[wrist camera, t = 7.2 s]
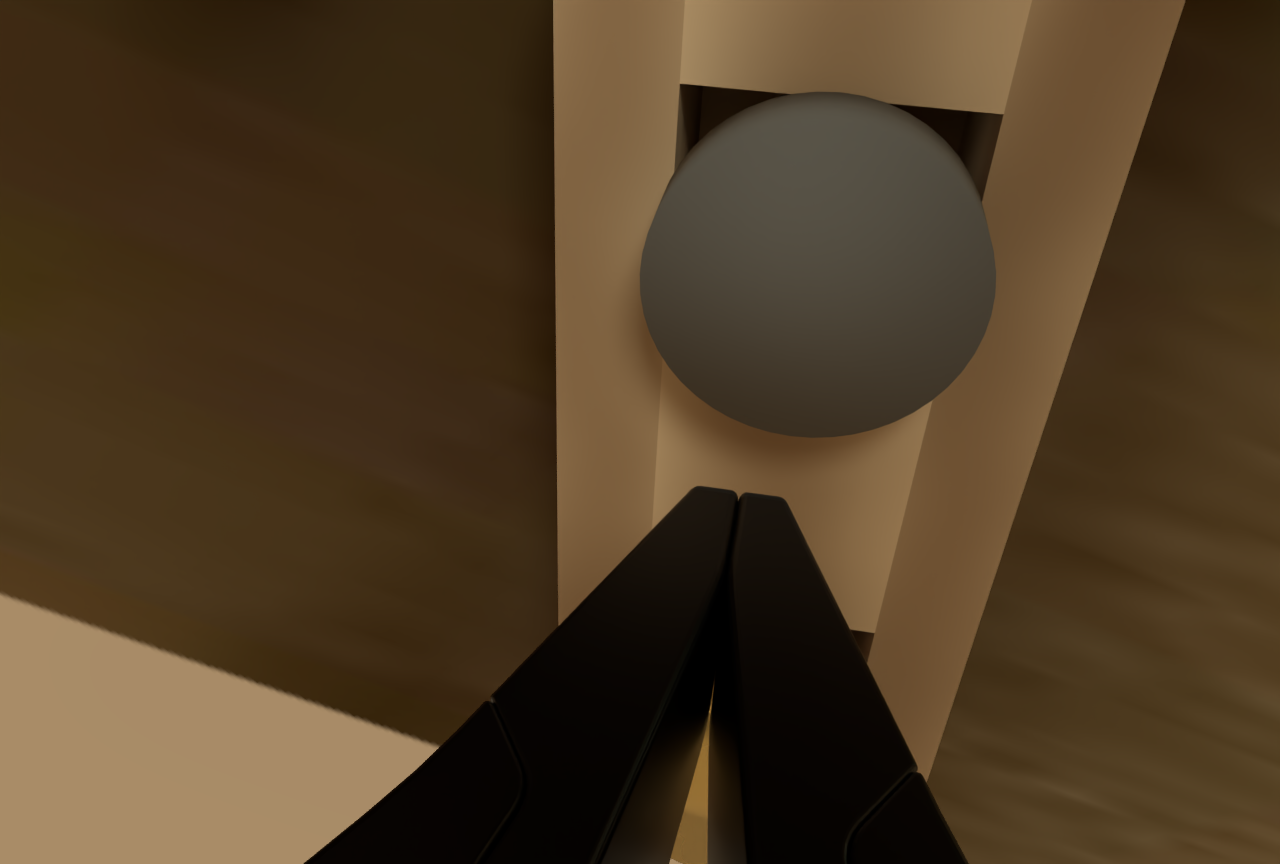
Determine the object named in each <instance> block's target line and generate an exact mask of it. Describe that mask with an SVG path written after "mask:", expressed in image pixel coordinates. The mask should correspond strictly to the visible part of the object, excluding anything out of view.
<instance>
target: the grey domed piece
mask: <svg viewBox="0 0 1280 864" xmlns="http://www.w3.org/2000/svg"><path fill="white" fill-rule="evenodd" d="M995 292H996V267H995V258H994V250H993V246H992V242H991V238H990V233H989V229H988V225H987V221H986V216H985V212H984V209H983V205H982V201H981V198H980V194H979V192H978V190H977V187H976V185H975V183H974V181H973V178H972V176H971V174H970V173H969V171H968V169H967V168H966V166H965V165H964V163H963V162H962V160H961V158H960V157H959V156H958V154H957V153H956V152H955V151H954V150H953V149H952V148H951V146H950V145H949V144H948V143H947V142H946V141H945V140H944V139H943V138H942V137H941V136H940V135H939V134H937V133H936V132H935V131H934V130H933V129H932V128H930V127H929V126H928V125H927V124H925V123H924V122H922V121H920V120H919V119H917V118H916V117H914V116H913V115H911V114H909V113H908V112H906V111H903V110H901V109H899V108H897V107H895V106H893V105H890V104H888V103H886V102H882V101H879V100H876V99H872V98H869V97H866V96H861V95H855V94H849V93H842V92H807V93H797V94H783V95H781V96H779V97H777V98H773V99H769V100H767V101H764V102H761V103H759V104H756V105H753V106H751V107H748V108H746V109H744V110H742V111H740V112H739V113H737V114H735V115H733V116H731V117H729V118H727V119H726V120H725V121H723V122H722V123H720V124H719V125H718V126H716V127H715V128H713V129H712V130H711V131H709V132H708V133H707V134H706V135H705V136H704V137H703V138H702V139H701V140H700V141H699V142H698V143H697V144H696V145H694V146H693V148H692V149H691V150H690V151H689V153H688V154H687V155H686V156H685V158H684V159H683V160H682V161H681V162H680V164H679V166H678V167H677V169H676V171H675V172H674V174H673V176H672V177H671V179H670V180H669V183H668V185H667V187H666V190H665V192H664V194H663V197H662V199H661V201H660V204H659V206H658V209H657V211H656V214H655V216H654V219H653V221H652V224H651V226H650V229H649V231H648V234H647V237H646V241H645V245H644V249H643V252H642V259H641V267H640V296H641V302H642V308H643V314H644V317H645V320H646V323H647V326H648V330H649V333H650V335H651V337H652V339H653V341H654V343H655V345H656V347H657V350H658V351H659V353H660V355H661V356H662V358H663V359H664V361H665V362H666V364H667V365H668V367H669V368H670V369H671V371H672V372H673V373H674V374H675V375H676V376H677V378H678V379H679V380H680V381H681V382H682V383H683V384H684V385H685V386H686V387H687V388H688V389H689V390H690V391H691V392H692V393H694V394H695V395H696V396H697V397H698V398H700V399H701V400H702V401H704V402H705V403H706V404H708V405H709V406H711V407H712V408H714V409H715V410H717V411H719V412H721V413H722V414H724V415H726V416H728V417H729V418H731V419H734V420H736V421H739V422H741V423H743V424H746V425H748V426H751V427H754V428H757V429H760V430H764V431H767V432H771V433H776V434H782V435H787V436H795V437H807V438H823V437H838V436H846V435H853V434H858V433H862V432H866V431H870V430H874V429H877V428H880V427H882V426H885V425H888V424H891V423H893V422H896V421H898V420H900V419H902V418H904V417H906V416H908V415H910V414H912V413H914V412H915V411H917V410H918V409H920V408H921V407H923V406H925V405H926V404H928V403H929V402H931V401H932V400H933V399H934V398H936V397H937V396H938V395H939V394H940V393H942V392H943V391H944V390H945V389H946V388H948V387H949V385H950V384H951V383H952V382H953V381H954V380H955V379H956V378H957V377H958V376H959V375H960V374H961V373H962V371H963V370H964V369H965V367H966V366H967V364H968V363H969V362H970V360H971V359H972V357H973V356H974V354H975V353H976V351H977V349H978V347H979V345H980V343H981V341H982V339H983V337H984V335H985V332H986V329H987V327H988V324H989V321H990V318H991V315H992V310H993V305H994V299H995Z"/></svg>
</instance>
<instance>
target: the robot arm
mask: <svg viewBox="0 0 1280 864" xmlns="http://www.w3.org/2000/svg"><path fill="white" fill-rule="evenodd" d="M713 687H714V689H713ZM712 694H713V698H712ZM711 701H712V707H711ZM710 707H711V716H710V726H709V751H708V844H707V864H969V863H968V861H967V860H966V858H965V856H964V854H963V852H962V850H961V848H960V847H959V845H958V843H957V841H956V839H955V837H954V835H953V834H952V832H951V830H950V828H949V826H948V824H947V822H946V821H945V819H944V817H943V815H942V813H941V811H940V809H939V807H938V805H937V803H936V801H935V799H934V797H933V795H932V793H931V791H930V789H929V787H928V785H927V783H926V781H925V779H924V777H923V775H922V774H921V773H918V772H917V771H918V766H917V763H916V761H915V759H914V757H913V755H912V753H911V751H910V749H909V747H908V745H907V743H906V741H905V739H904V737H903V735H902V733H901V731H900V729H899V727H898V725H897V723H896V721H895V719H894V717H893V715H892V713H891V711H890V709H889V707H888V705H887V703H886V701H885V699H884V697H883V695H882V693H881V691H880V689H879V687H878V685H877V683H876V681H875V679H874V677H873V675H872V673H871V671H870V669H869V667H868V665H867V662H866V660H865V658H864V656H863V654H862V652H861V650H860V648H859V646H858V644H857V642H856V640H855V638H854V636H853V634H852V632H851V630H850V628H849V626H848V624H847V622H846V620H845V618H844V616H843V614H842V612H841V610H840V608H839V606H838V604H837V602H836V600H835V598H834V596H833V594H832V592H831V590H830V588H829V586H828V584H827V582H826V580H825V578H824V576H823V574H822V572H821V570H820V568H819V566H818V564H817V562H816V559H815V557H814V555H813V553H812V551H811V549H810V547H809V545H808V543H807V541H806V539H805V537H804V535H803V533H802V531H801V529H800V527H799V525H798V523H797V521H796V519H795V517H794V515H793V513H792V511H791V509H790V507H789V505H788V503H787V502H786V500H785V499H783V498H782V497H779V496H772V495H764V494H757V493H750V492H745V493H743V494H742V495H741V496H740V497H739V501H738V495H737V493H736V492H735V491H733V490H728V489H721V488H713V487H706V486H696V487H694V488H692V489H691V490H690V491H689V492H688V493H687V494H686V495H685V496H684V497H683V498H682V499H681V500H680V501H679V502H678V503H677V504H676V505H675V506H674V507H673V508H672V509H671V510H670V511H669V512H668V514H667V515H666V516H665V517H664V518H663V519H662V520H661V521H660V522H659V523H658V524H657V525H656V526H655V527H654V528H653V529H652V530H651V531H650V532H649V533H648V534H647V535H646V536H645V537H644V538H643V539H642V540H641V541H640V542H639V543H638V544H637V546H636V547H635V548H634V549H633V550H632V551H631V552H630V553H629V554H628V555H627V556H626V557H625V558H624V559H623V560H622V561H621V562H620V563H619V564H618V565H617V566H616V567H615V568H614V569H613V570H612V571H611V572H610V573H609V574H608V575H607V577H606V578H605V579H604V580H603V581H602V582H601V583H600V584H599V585H598V586H597V587H596V588H595V589H594V590H593V591H592V592H591V593H590V594H589V595H588V596H587V597H586V598H585V599H584V600H583V601H582V602H581V603H580V604H579V605H578V606H577V607H576V609H575V610H574V611H573V612H572V613H571V614H570V615H569V616H568V617H567V618H566V619H565V620H564V621H563V622H562V623H561V624H560V625H559V626H558V627H557V628H556V629H555V630H554V631H553V632H552V633H551V634H550V635H549V636H548V637H547V638H546V639H545V641H544V642H543V643H542V644H541V645H540V646H539V647H538V648H537V649H536V650H535V651H534V652H533V653H532V654H531V655H530V656H529V657H528V658H527V659H526V660H525V661H524V662H523V663H522V664H521V665H520V666H519V667H518V668H517V669H516V670H515V671H514V673H513V674H512V675H511V676H510V677H509V678H508V679H507V680H506V681H505V682H504V683H503V684H502V685H501V686H500V687H499V688H498V689H497V690H496V691H495V692H494V693H493V694H492V696H491V701H485V702H484V703H483V704H482V705H481V706H480V707H479V708H478V709H477V710H476V711H475V712H474V713H473V714H472V715H471V716H470V717H469V718H468V720H467V721H466V722H465V723H464V724H463V725H462V726H461V727H460V728H459V729H458V730H457V731H456V732H455V733H454V734H453V735H452V736H451V737H450V738H449V739H448V740H447V741H446V742H444V743H443V744H442V745H441V746H440V747H439V748H438V749H437V750H436V751H435V752H434V753H433V754H432V755H431V756H430V757H429V758H428V759H427V760H426V761H425V762H424V763H423V764H422V765H421V766H420V767H419V768H418V769H417V770H415V771H414V772H413V773H412V774H411V775H410V776H408V777H407V778H406V779H405V780H404V781H403V782H401V783H400V784H399V785H398V786H397V787H396V788H394V789H393V790H392V791H391V792H390V793H389V794H387V795H386V796H385V797H384V798H383V799H382V800H380V801H379V802H378V803H377V804H376V805H374V806H373V807H372V808H371V809H370V810H369V811H368V812H366V813H365V814H364V815H363V816H361V817H360V818H359V819H358V820H357V821H355V822H354V823H353V824H352V825H350V826H349V827H348V828H347V829H346V830H344V831H343V832H342V833H341V834H339V835H338V836H337V837H336V838H334V839H333V840H332V841H331V842H329V844H327V845H326V846H325V847H323V848H322V849H321V850H320V851H318V852H317V853H316V854H315V855H314V856H312V857H311V858H310V859H309V860H307V861H306V862H305V863H304V864H669V862H670V858H671V855H672V851H673V847H674V844H675V840H676V837H677V833H678V830H679V826H680V823H681V819H682V815H683V812H684V808H685V805H686V801H687V798H688V794H689V791H690V787H691V783H692V780H693V776H694V773H695V769H696V766H697V762H698V758H699V755H700V751H701V748H702V744H703V740H704V736H705V732H706V728H707V723H708V718H709V712H710Z"/></svg>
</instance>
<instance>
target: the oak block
mask: <svg viewBox="0 0 1280 864" xmlns="http://www.w3.org/2000/svg"><path fill="white" fill-rule="evenodd" d="M1184 3H1185V0H553V32H554V154H555V276H556V397H557V519H558V626H559V625H560V624H561V623H562V622H563V621H564V620H565V619H566V618H567V617H568V616H569V615H570V614H571V613H572V612H573V611H574V610H575V609H576V607H577V606H578V605H579V604H580V603H581V602H582V601H583V600H584V599H585V598H586V597H587V596H588V595H589V594H590V593H591V592H592V591H593V590H594V589H595V588H596V587H597V586H598V585H599V584H600V583H601V582H602V581H603V580H604V579H605V578H606V577H607V575H608V574H609V573H610V572H611V571H612V570H613V569H614V568H615V567H616V566H617V565H618V564H619V563H620V562H621V561H622V560H623V559H624V558H625V557H626V556H627V555H628V554H629V553H630V552H631V551H632V550H633V549H634V548H635V547H636V546H637V544H638V543H639V542H640V541H641V540H642V539H643V538H644V537H645V536H646V535H647V534H648V533H649V532H650V531H651V530H652V529H653V528H654V527H655V526H656V525H657V524H658V523H659V522H660V521H661V520H662V519H663V518H664V517H665V516H666V515H667V514H668V512H669V511H670V510H671V509H672V508H673V507H674V506H675V505H676V504H677V503H678V502H679V501H680V500H681V499H682V498H683V497H684V496H685V495H686V494H687V493H688V492H689V491H690V490H691V489H692V488H694V487H696V486H706V487H713V488H721V489H728V490H733V491H735V492H736V493H737V495H738V501H739V497H740V496H741V495H742V494H743V493H745V492H750V493H757V494H764V495H772V496H779V497H782V498H783V499H785V500H786V502H787V503H788V505H789V507H790V509H791V511H792V513H793V515H794V517H795V519H796V521H797V523H798V525H799V527H800V529H801V531H802V533H803V535H804V537H805V539H806V541H807V543H808V545H809V547H810V549H811V551H812V553H813V555H814V557H815V559H816V562H817V564H818V566H819V568H820V570H821V572H822V574H823V576H824V578H825V580H826V582H827V584H828V586H829V588H830V590H831V592H832V594H833V596H834V598H835V600H836V602H837V604H838V606H839V608H840V610H841V612H842V614H843V616H844V618H845V620H846V622H847V624H848V626H849V628H850V630H851V632H852V634H853V636H854V638H855V640H856V642H857V644H858V646H859V648H860V650H861V652H862V654H863V656H864V658H865V660H866V662H867V665H868V667H869V669H870V671H871V673H872V675H873V677H874V679H875V681H876V683H877V685H878V687H879V689H880V691H881V693H882V695H883V697H884V699H885V701H886V703H887V705H888V707H889V709H890V711H891V713H892V715H893V717H894V719H895V721H896V723H897V725H898V727H899V729H900V731H901V733H902V735H903V737H904V739H905V741H906V743H907V745H908V747H909V749H910V751H911V753H912V755H913V757H914V759H915V761H916V763H917V766H918V771H917V772H918V773H921V774H922V775H923V777H924V779H925V781H926V783H927V780H928V777H929V774H930V771H931V768H932V765H933V762H934V759H935V756H936V753H937V750H938V747H939V744H940V741H941V738H942V735H943V732H944V729H945V726H946V723H947V720H948V717H949V714H950V711H951V707H952V704H953V701H954V698H955V695H956V692H957V689H958V686H959V683H960V680H961V677H962V674H963V671H964V668H965V665H966V662H967V659H968V656H969V653H970V650H971V647H972V644H973V641H974V638H975V635H976V632H977V629H978V626H979V623H980V620H981V617H982V614H983V611H984V608H985V605H986V602H987V599H988V596H989V593H990V590H991V587H992V584H993V581H994V578H995V575H996V572H997V568H998V565H999V562H1000V559H1001V556H1002V553H1003V550H1004V547H1005V544H1006V541H1007V538H1008V535H1009V532H1010V529H1011V526H1012V523H1013V520H1014V517H1015V514H1016V511H1017V508H1018V505H1019V502H1020V499H1021V496H1022V493H1023V490H1024V487H1025V484H1026V481H1027V478H1028V475H1029V472H1030V469H1031V466H1032V463H1033V460H1034V457H1035V454H1036V451H1037V448H1038V445H1039V442H1040V439H1041V436H1042V433H1043V429H1044V426H1045V423H1046V420H1047V417H1048V414H1049V411H1050V408H1051V405H1052V402H1053V399H1054V396H1055V393H1056V390H1057V387H1058V384H1059V381H1060V378H1061V375H1062V372H1063V369H1064V366H1065V363H1066V360H1067V357H1068V354H1069V351H1070V348H1071V345H1072V342H1073V339H1074V336H1075V333H1076V330H1077V327H1078V324H1079V321H1080V318H1081V315H1082V312H1083V309H1084V306H1085V303H1086V300H1087V297H1088V293H1089V290H1090V287H1091V284H1092V281H1093V278H1094V275H1095V272H1096V269H1097V266H1098V263H1099V260H1100V257H1101V254H1102V251H1103V248H1104V245H1105V242H1106V239H1107V236H1108V233H1109V230H1110V227H1111V224H1112V221H1113V218H1114V215H1115V212H1116V209H1117V206H1118V203H1119V200H1120V197H1121V194H1122V191H1123V188H1124V185H1125V182H1126V179H1127V176H1128V173H1129V170H1130V167H1131V164H1132V161H1133V158H1134V154H1135V151H1136V148H1137V145H1138V142H1139V139H1140V136H1141V133H1142V130H1143V127H1144V124H1145V121H1146V118H1147V115H1148V112H1149V109H1150V106H1151V103H1152V100H1153V97H1154V94H1155V91H1156V88H1157V85H1158V82H1159V79H1160V76H1161V73H1162V70H1163V67H1164V64H1165V61H1166V58H1167V55H1168V52H1169V49H1170V46H1171V43H1172V40H1173V37H1174V34H1175V31H1176V28H1177V25H1178V22H1179V19H1180V15H1181V12H1182V9H1183V6H1184ZM807 92H842V93H849V94H855V95H861V96H866V97H869V98H872V99H876V100H879V101H882V102H886V103H888V104H890V105H893V106H895V107H897V108H899V109H901V110H903V111H906V112H908V113H909V114H911V115H913V116H914V117H916V118H917V119H919V120H920V121H922V122H924V123H925V124H927V125H928V126H929V127H930V128H932V129H933V130H934V131H935V132H936V133H937V134H939V135H940V136H941V137H942V138H943V139H944V140H945V141H946V142H947V143H948V144H949V145H950V146H951V148H952V149H953V150H954V151H955V152H956V153H957V154H958V156H959V157H960V158H961V160H962V162H963V163H964V165H965V166H966V168H967V169H968V171H969V173H970V174H971V176H972V178H973V181H974V183H975V185H976V187H977V190H978V192H979V194H980V198H981V201H982V205H983V209H984V212H985V216H986V221H987V225H988V229H989V233H990V238H991V242H992V246H993V250H994V258H995V267H996V292H995V299H994V305H993V310H992V315H991V318H990V321H989V324H988V327H987V329H986V332H985V335H984V337H983V339H982V341H981V343H980V345H979V347H978V349H977V351H976V353H975V354H974V356H973V357H972V359H971V360H970V362H969V363H968V364H967V366H966V367H965V369H964V370H963V371H962V373H961V374H960V375H959V376H958V377H957V378H956V379H955V380H954V381H953V382H952V383H951V384H950V385H949V387H948V388H946V389H945V390H944V391H943V392H942V393H940V394H939V395H938V396H937V397H936V398H934V399H933V400H932V401H931V402H929V403H928V404H926V405H925V406H923V407H921V408H920V409H918V410H917V411H915V412H914V413H912V414H910V415H908V416H906V417H904V418H902V419H900V420H898V421H896V422H893V423H891V424H888V425H885V426H882V427H880V428H877V429H874V430H870V431H866V432H862V433H858V434H853V435H846V436H838V437H823V438H807V437H795V436H787V435H782V434H776V433H771V432H767V431H764V430H760V429H757V428H754V427H751V426H748V425H746V424H743V423H741V422H739V421H736V420H734V419H731V418H729V417H728V416H726V415H724V414H722V413H721V412H719V411H717V410H715V409H714V408H712V407H711V406H709V405H708V404H706V403H705V402H704V401H702V400H701V399H700V398H698V397H697V396H696V395H695V394H694V393H692V392H691V391H690V390H689V389H688V388H687V387H686V386H685V385H684V384H683V383H682V382H681V381H680V380H679V379H678V378H677V376H676V375H675V374H674V373H673V372H672V371H671V369H670V368H669V367H668V365H667V364H666V362H665V361H664V359H663V358H662V356H661V355H660V353H659V351H658V350H657V347H656V345H655V343H654V341H653V339H652V337H651V335H650V333H649V330H648V326H647V323H646V320H645V317H644V314H643V308H642V302H641V296H640V267H641V259H642V252H643V249H644V245H645V241H646V237H647V234H648V231H649V229H650V226H651V224H652V221H653V219H654V216H655V214H656V211H657V209H658V206H659V204H660V201H661V199H662V197H663V194H664V192H665V190H666V187H667V185H668V183H669V180H670V179H671V177H672V176H673V174H674V172H675V171H676V169H677V167H678V166H679V164H680V162H681V161H682V160H683V159H684V158H685V156H686V155H687V154H688V153H689V151H690V150H691V149H692V148H693V146H694V145H696V144H697V143H698V142H699V141H700V140H701V139H702V138H703V137H704V136H705V135H706V134H707V133H708V132H709V131H711V130H712V129H713V128H715V127H716V126H718V125H719V124H720V123H722V122H723V121H725V120H726V119H727V118H729V117H731V116H733V115H735V114H737V113H739V112H740V111H742V110H744V109H746V108H748V107H751V106H753V105H756V104H759V103H761V102H764V101H767V100H769V99H773V98H777V97H779V96H781V95H783V94H797V93H807Z"/></svg>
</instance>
